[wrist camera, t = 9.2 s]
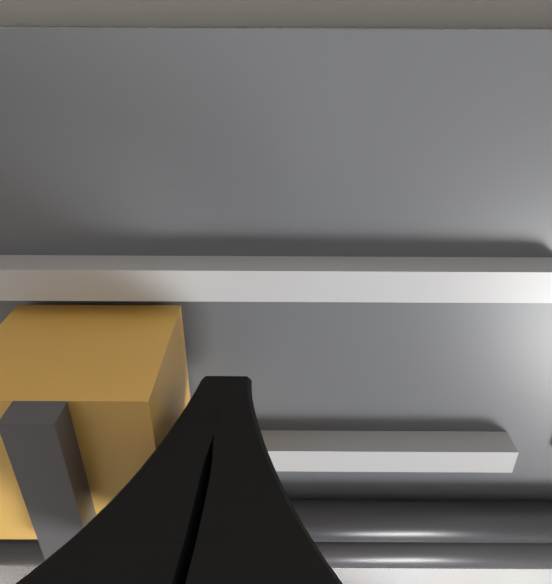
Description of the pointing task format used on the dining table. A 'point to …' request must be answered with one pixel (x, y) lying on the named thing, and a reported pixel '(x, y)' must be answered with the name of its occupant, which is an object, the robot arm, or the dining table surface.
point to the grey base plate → (315, 255)
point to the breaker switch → (82, 409)
